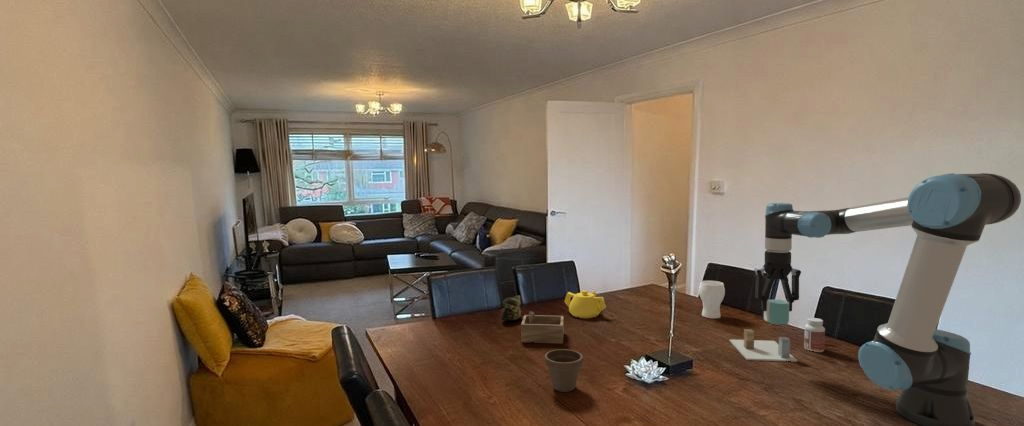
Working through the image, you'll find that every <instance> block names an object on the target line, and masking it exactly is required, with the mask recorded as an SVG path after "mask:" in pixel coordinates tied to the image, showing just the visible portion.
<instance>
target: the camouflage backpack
mask: <svg viewBox="0 0 1024 426" xmlns="http://www.w3.org/2000/svg"><path fill="white" fill-rule="evenodd" d="M521 305H522V302H521V296H520V295H515V296H513V297H507V298H505V299H503V301H502V306H503V309H504V311H503V312H502V316H501V320H502V321H516V320H518V319H520V317H521V315H522V310H521V307H520V306H521Z"/></svg>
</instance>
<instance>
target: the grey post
mask: <svg viewBox="0 0 1024 426" xmlns="http://www.w3.org/2000/svg"><path fill="white" fill-rule="evenodd" d="M778 344H779V345H778V355H779V356H780V357H781V358H790V354H791V339H790V338H789V337H787V336H779V337H778Z"/></svg>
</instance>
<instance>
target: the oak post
mask: <svg viewBox="0 0 1024 426" xmlns="http://www.w3.org/2000/svg"><path fill="white" fill-rule="evenodd" d="M743 340H744V347H745V348H746V349H754V340H755V331H754V330H753V329H746V328H744V329H743Z"/></svg>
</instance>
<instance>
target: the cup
mask: <svg viewBox="0 0 1024 426" xmlns="http://www.w3.org/2000/svg"><path fill="white" fill-rule="evenodd" d="M698 294H699V297H700V299H701V302H702V307H703V308H702V311H701V316H702V317H704V318H707V319H720V318H722V317H721V309H720V307H721V303H722V302H723V300H724V297H725V295H726V289H725V284H724V282H721V281H718V280H702V281H700V282H699V286H698Z"/></svg>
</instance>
